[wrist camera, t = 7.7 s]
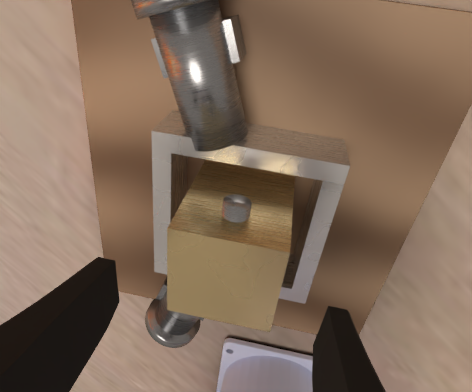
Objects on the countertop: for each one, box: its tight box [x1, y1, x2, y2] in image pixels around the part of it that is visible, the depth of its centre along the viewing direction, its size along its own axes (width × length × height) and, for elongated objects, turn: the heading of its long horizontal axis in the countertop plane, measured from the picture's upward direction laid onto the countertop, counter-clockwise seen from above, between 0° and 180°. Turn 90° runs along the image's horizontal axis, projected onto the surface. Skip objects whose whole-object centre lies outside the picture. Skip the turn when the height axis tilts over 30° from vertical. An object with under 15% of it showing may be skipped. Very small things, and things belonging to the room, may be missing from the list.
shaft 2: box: [145, 276, 204, 348], centre depth 20 cm, size 5×3×3 cm, turn 153°
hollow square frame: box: [151, 110, 350, 304], centre depth 16 cm, size 8×8×2 cm
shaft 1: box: [131, 0, 248, 152], centre depth 13 cm, size 5×3×3 cm, turn 13°
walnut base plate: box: [71, 0, 472, 335], centre depth 18 cm, size 18×16×1 cm
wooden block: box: [167, 160, 295, 332], centre depth 15 cm, size 5×4×6 cm
